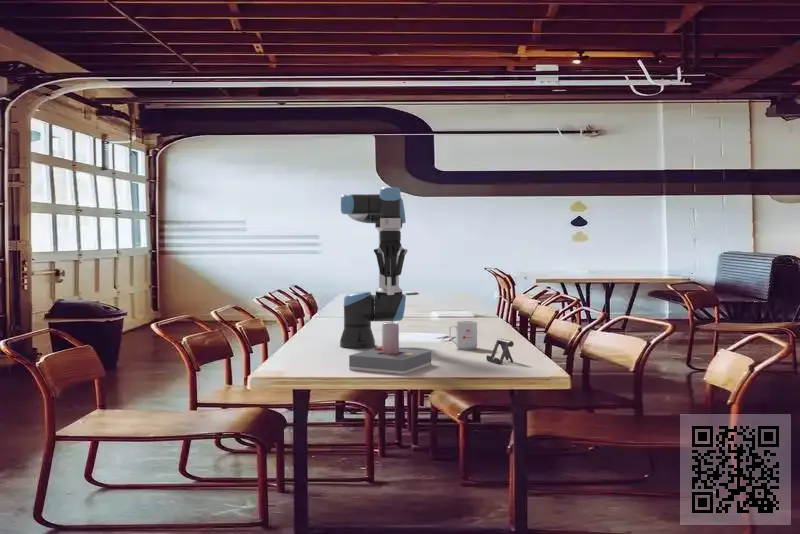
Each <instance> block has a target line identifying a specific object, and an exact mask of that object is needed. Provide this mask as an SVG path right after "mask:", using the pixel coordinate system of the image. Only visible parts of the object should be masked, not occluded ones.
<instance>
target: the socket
mask: <svg viewBox="0 0 800 534" xmlns="http://www.w3.org/2000/svg"><path fill="white" fill-rule="evenodd" d="M348 364H349V365H348V367H349V368H348V369H349V370H353V371H354V370H355V371H364V372H376V373H386V374H395V375H396V374H397V375H405V374H409V373H411V372H414V371H417V370H420V369H422V368H423V369H424V368H426V367H428V366H431V365H432V351H431V350H423V349H422V350H421V349H411V348H410V349H407V348H399V355H396V356H395V355H383V354H382V345H381V346H376V347H375V348H371V349H368V350H364V351H361V352H357V353H354V354H350V355H348Z"/></svg>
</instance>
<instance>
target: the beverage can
mask: <svg viewBox="0 0 800 534" xmlns="http://www.w3.org/2000/svg"><path fill="white" fill-rule="evenodd" d="M381 327H382V329H381V330H382V337H381V338H382V340H381V341H382V342H381V343H382V344H381V346H382V354H383V355H395V356H396V355H399V349H400V342H399V341H400V328H399V322H398V321H393V322H391V321H384V322H382V326H381Z"/></svg>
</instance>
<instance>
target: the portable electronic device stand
mask: <svg viewBox="0 0 800 534" xmlns="http://www.w3.org/2000/svg"><path fill="white" fill-rule="evenodd" d="M514 344H515V343H514V341H512V340H509V339H504V338H497V340H496V342H495V344H494V348H493V350H492V353H491V355H487V354H486V361H487V362H491V363H494V364H497V365H502V364H503V362H504V359H505V360H506V361H507V360H508V361H507V362H509V360H510V362H511V363H514V360H513V357H512V355H511V352H510V350H509V347H510V348H512V347H514ZM499 345H500V347H501V349H502V353H501V355H500V358H498V357H495V356H496V353H497V350H498V348H499Z"/></svg>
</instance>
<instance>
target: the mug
mask: <svg viewBox="0 0 800 534" xmlns="http://www.w3.org/2000/svg"><path fill="white" fill-rule="evenodd" d="M451 328H455V340H454V339H452V333H451V330H452V329H451ZM448 334H449V335H448V337H449V340H451V342H452V343H454V344H455V346H456V348H457V349H459V350H464V351H465V350H466V351H467V350H468V351H470V350H476V348H478V322H477V321H474V320H463V321H462V320H461V321H459V320H458V321H456V322H455V325H449V326H448Z"/></svg>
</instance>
